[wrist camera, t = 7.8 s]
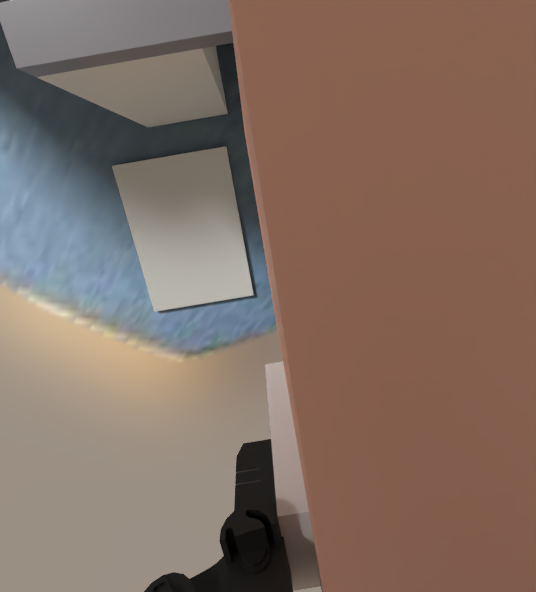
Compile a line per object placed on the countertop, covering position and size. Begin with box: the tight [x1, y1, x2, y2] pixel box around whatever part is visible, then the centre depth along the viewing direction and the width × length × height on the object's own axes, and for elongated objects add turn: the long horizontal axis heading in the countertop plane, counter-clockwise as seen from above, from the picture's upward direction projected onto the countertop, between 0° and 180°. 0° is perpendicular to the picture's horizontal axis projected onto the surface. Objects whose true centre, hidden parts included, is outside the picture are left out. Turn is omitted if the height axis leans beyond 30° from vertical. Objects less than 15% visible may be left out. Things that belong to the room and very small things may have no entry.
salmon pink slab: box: [228, 0, 536, 592], centre depth 9 cm, size 3×12×11 cm, turn 9°
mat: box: [112, 146, 254, 312], centre depth 26 cm, size 8×11×1 cm
